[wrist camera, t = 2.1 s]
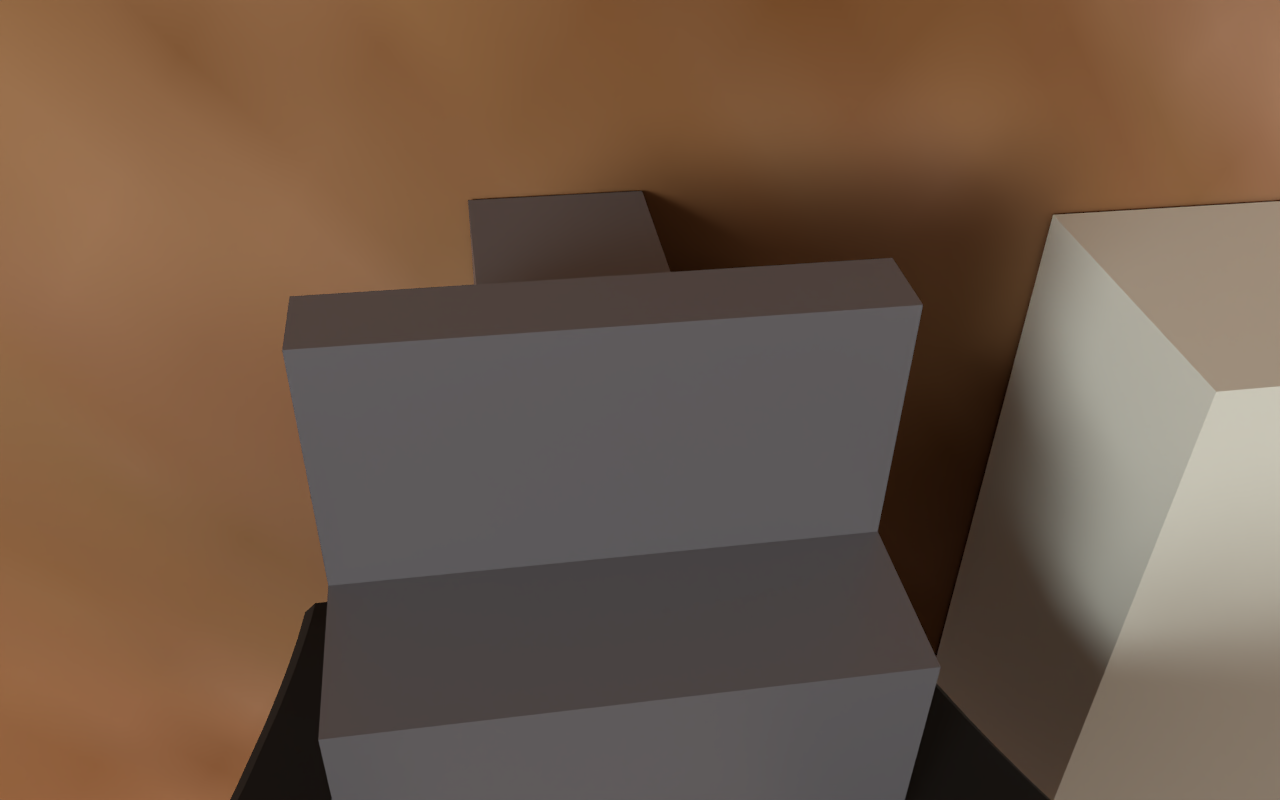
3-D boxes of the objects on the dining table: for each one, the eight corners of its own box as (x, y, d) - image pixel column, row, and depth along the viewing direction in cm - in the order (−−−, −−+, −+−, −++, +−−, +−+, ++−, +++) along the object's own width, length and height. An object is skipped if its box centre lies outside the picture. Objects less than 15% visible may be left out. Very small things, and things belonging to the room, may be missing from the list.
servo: (706, 806, 17) (817, 1279, 13) (428, 843, 17) (439, 1353, 12) (778, 82, 10) (1070, 529, 6) (316, 100, 10) (245, 611, 5)
